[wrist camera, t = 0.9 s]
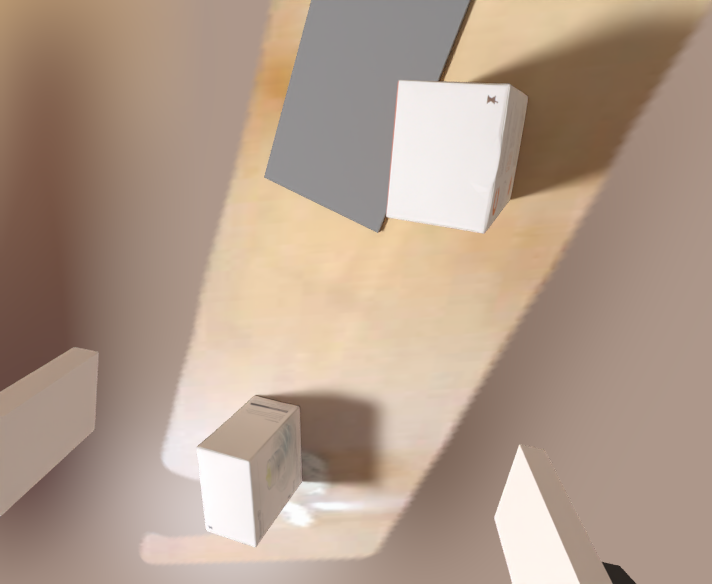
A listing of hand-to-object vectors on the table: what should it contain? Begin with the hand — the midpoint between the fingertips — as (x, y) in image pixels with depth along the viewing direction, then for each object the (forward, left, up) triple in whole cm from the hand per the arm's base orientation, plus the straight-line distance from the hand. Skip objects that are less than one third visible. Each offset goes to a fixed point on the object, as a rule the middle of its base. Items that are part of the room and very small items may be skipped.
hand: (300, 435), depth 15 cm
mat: (-7, -14, -30) cm, 34 cm away
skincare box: (+31, -9, -30) cm, 44 cm away
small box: (-7, -2, -30) cm, 31 cm away
